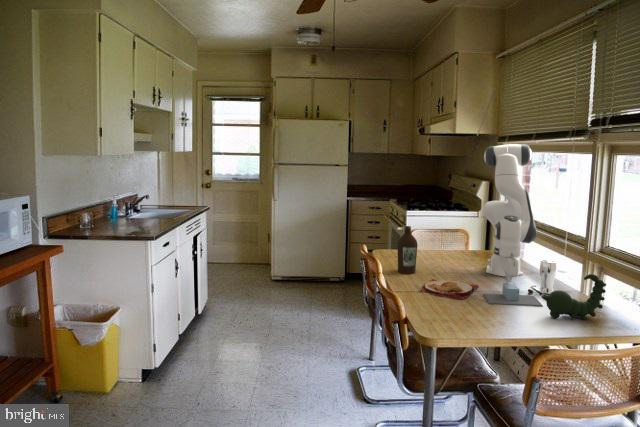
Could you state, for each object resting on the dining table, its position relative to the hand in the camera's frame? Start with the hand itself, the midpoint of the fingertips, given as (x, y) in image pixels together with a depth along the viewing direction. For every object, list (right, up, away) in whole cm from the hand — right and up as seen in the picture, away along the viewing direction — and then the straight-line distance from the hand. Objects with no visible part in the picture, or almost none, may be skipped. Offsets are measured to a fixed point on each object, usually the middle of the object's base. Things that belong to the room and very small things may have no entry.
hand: (508, 281), depth 228 cm
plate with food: (-26, -6, +8) cm, 28 cm away
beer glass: (+20, -6, +5) cm, 21 cm away
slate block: (0, -3, 0) cm, 3 cm away
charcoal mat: (-1, -7, -8) cm, 11 cm away
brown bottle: (-39, -1, +41) cm, 57 cm away
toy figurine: (+14, -11, -30) cm, 35 cm away
